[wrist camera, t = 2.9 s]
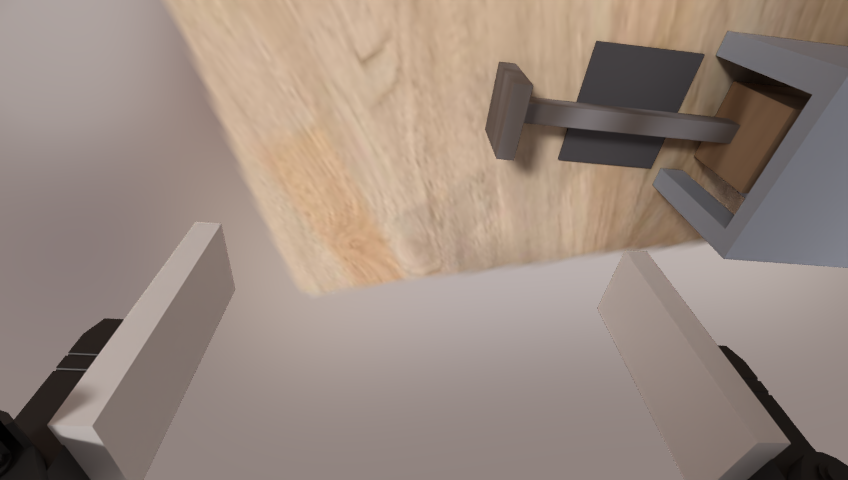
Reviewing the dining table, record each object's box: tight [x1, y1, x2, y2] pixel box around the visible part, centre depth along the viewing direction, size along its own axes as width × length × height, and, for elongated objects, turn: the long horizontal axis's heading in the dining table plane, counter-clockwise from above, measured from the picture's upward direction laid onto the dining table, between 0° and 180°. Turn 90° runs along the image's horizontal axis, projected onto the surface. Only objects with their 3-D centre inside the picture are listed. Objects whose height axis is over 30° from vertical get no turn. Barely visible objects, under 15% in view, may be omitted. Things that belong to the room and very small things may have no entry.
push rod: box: [485, 62, 812, 193], centre depth 30 cm, size 24×6×6 cm, turn 84°
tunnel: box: [653, 31, 848, 268], centre depth 29 cm, size 10×12×10 cm
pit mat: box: [558, 41, 705, 168], centre depth 32 cm, size 8×9×1 cm
